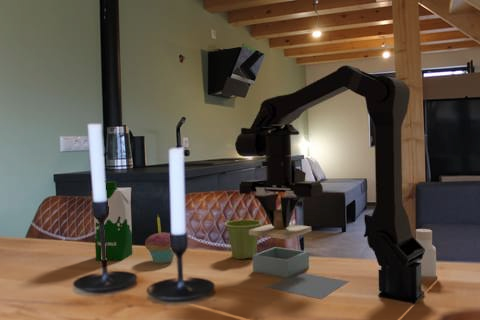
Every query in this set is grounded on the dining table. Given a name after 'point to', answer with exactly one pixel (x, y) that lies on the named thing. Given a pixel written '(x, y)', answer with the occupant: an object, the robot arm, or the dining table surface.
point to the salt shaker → (427, 253)
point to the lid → (279, 229)
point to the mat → (308, 285)
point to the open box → (281, 262)
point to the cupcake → (159, 246)
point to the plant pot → (242, 238)
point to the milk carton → (116, 224)
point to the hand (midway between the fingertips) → (280, 226)
